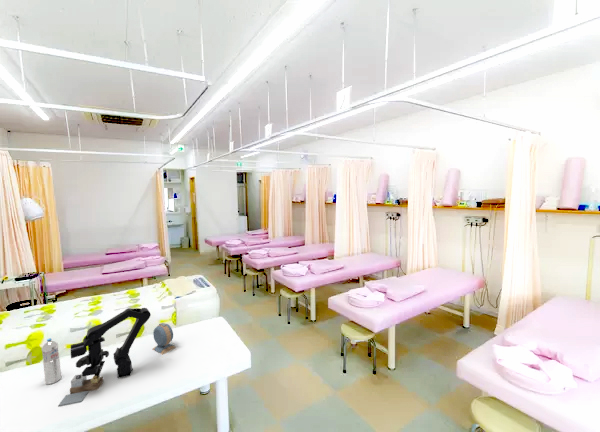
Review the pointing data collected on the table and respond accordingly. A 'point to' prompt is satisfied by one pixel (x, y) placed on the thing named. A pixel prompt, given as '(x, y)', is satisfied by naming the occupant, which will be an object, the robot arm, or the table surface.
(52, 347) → the water bottle
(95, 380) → the lever
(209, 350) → the table surface
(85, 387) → the plane body
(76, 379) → the lever cap
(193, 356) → the table surface
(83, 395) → the mat
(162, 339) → the alarm clock
